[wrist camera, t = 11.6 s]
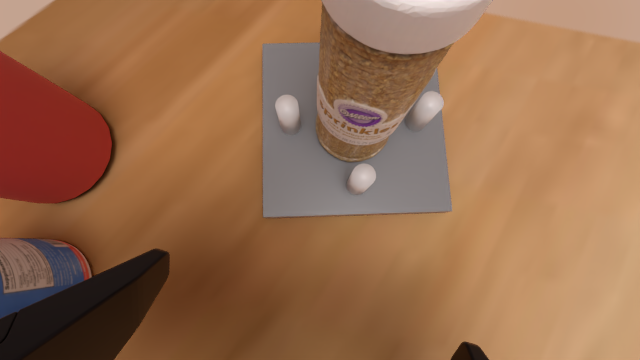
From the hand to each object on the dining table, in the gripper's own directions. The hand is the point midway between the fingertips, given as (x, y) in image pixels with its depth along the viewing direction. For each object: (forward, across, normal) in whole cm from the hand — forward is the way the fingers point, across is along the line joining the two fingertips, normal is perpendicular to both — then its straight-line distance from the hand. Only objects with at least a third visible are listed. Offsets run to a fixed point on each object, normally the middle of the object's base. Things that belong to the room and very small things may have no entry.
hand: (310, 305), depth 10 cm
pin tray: (+14, 0, -1) cm, 14 cm away
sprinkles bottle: (+13, 0, -1) cm, 13 cm away
